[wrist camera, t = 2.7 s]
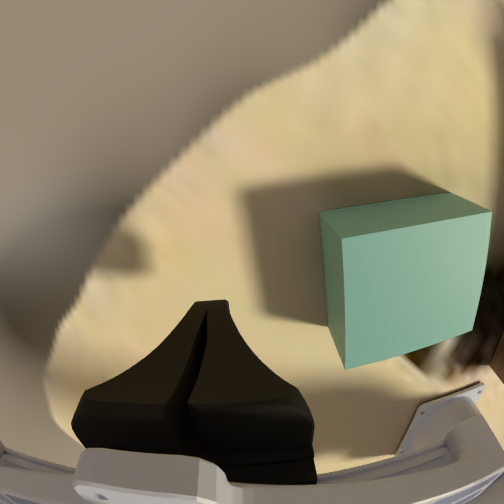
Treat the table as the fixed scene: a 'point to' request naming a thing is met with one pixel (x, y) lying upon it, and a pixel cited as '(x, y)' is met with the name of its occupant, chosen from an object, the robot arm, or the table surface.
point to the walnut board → (499, 360)
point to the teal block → (402, 274)
